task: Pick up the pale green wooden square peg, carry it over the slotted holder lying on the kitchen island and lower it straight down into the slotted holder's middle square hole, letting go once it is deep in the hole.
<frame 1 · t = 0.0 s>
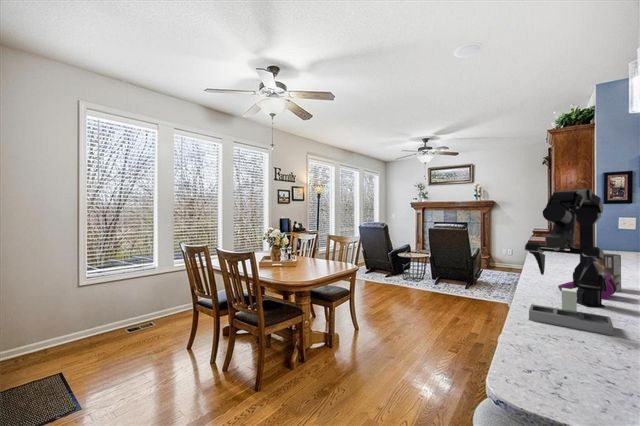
hand: (559, 277, 93), 15 cm above the kitchen island, tool pointing down, fingers open, 9 cm apart
slotted holder: (568, 322, 95), on the kitchen island
peg: (569, 312, 105), on the kitchen island
coffee box: (605, 289, 134), on the kitchen island
mounting bracket: (584, 294, 128), on the kitchen island
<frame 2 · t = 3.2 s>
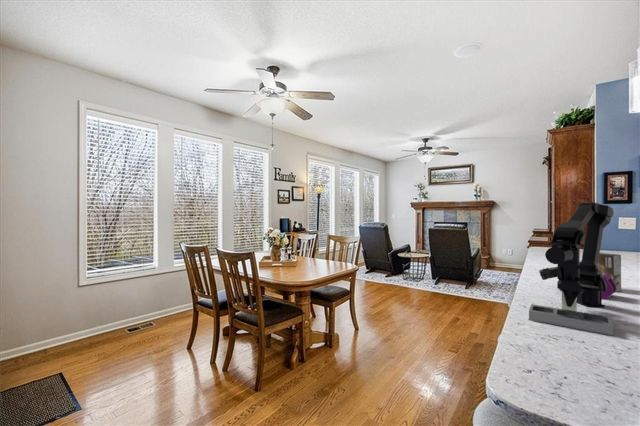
hand: (569, 305, 105), 3 cm above the kitchen island, tool pointing down, fingers closed on peg, 4 cm apart
peg: (569, 312, 105), on the kitchen island, touching gripper
everything else where it was.
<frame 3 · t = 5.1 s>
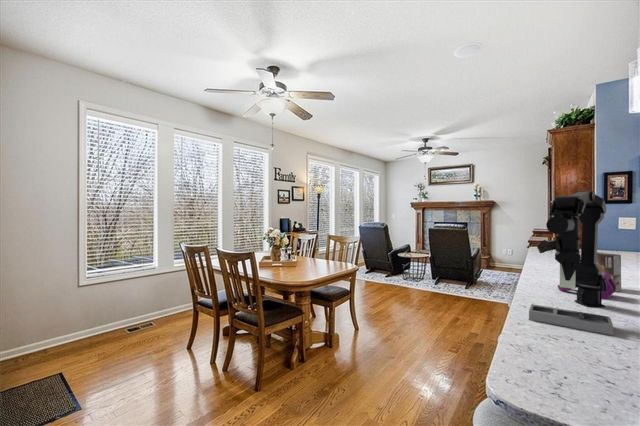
hand: (567, 279, 99), 13 cm above the kitchen island, tool pointing down, fingers closed on peg, 4 cm apart
peg: (567, 286, 99), point 11 cm above the kitchen island, touching gripper
everything else where it was.
when the fingers open (4 cm above the kitchen island, at t = 7.1 s): peg drops 2 cm, resting in slotted holder.
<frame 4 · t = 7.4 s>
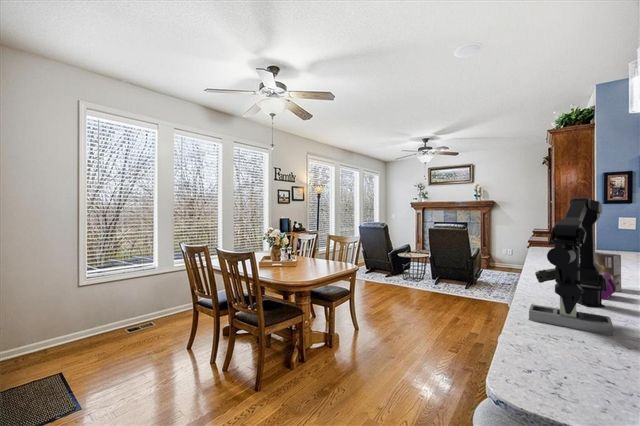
hand: (568, 310, 95), 4 cm above the kitchen island, tool pointing down, fingers open, 7 cm apart
peg: (567, 322, 95), resting in slotted holder
everything else where it was.
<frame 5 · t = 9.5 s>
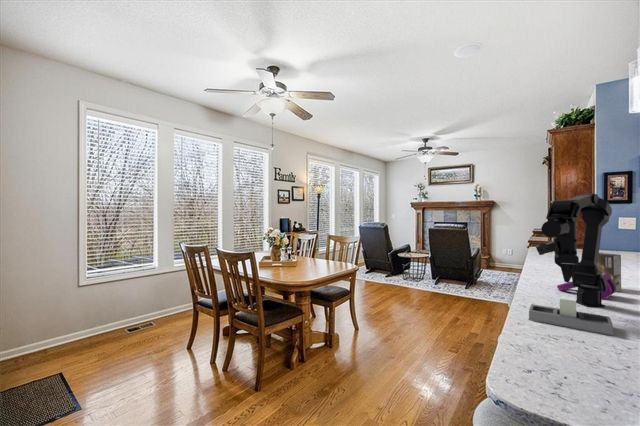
hand: (566, 279, 104), 12 cm above the kitchen island, tool pointing down, fingers open, 9 cm apart
nothing on the kitchen island moved.
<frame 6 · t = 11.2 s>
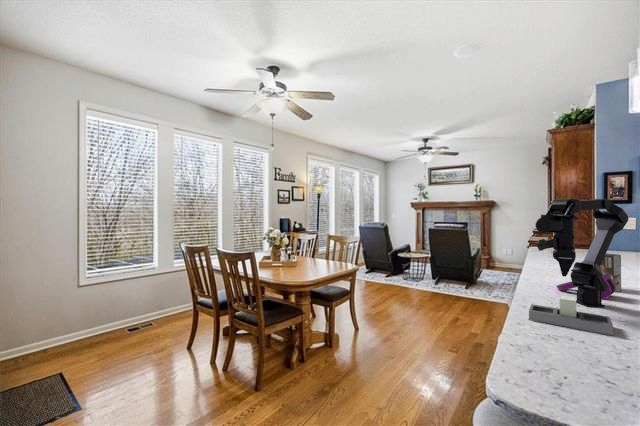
hand: (564, 274, 110), 13 cm above the kitchen island, tool pointing down, fingers open, 9 cm apart
nothing on the kitchen island moved.
at the end: peg 0.1 cm from the slotted holder (horizontally); peg resting in slotted holder; peg tilted 0° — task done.
